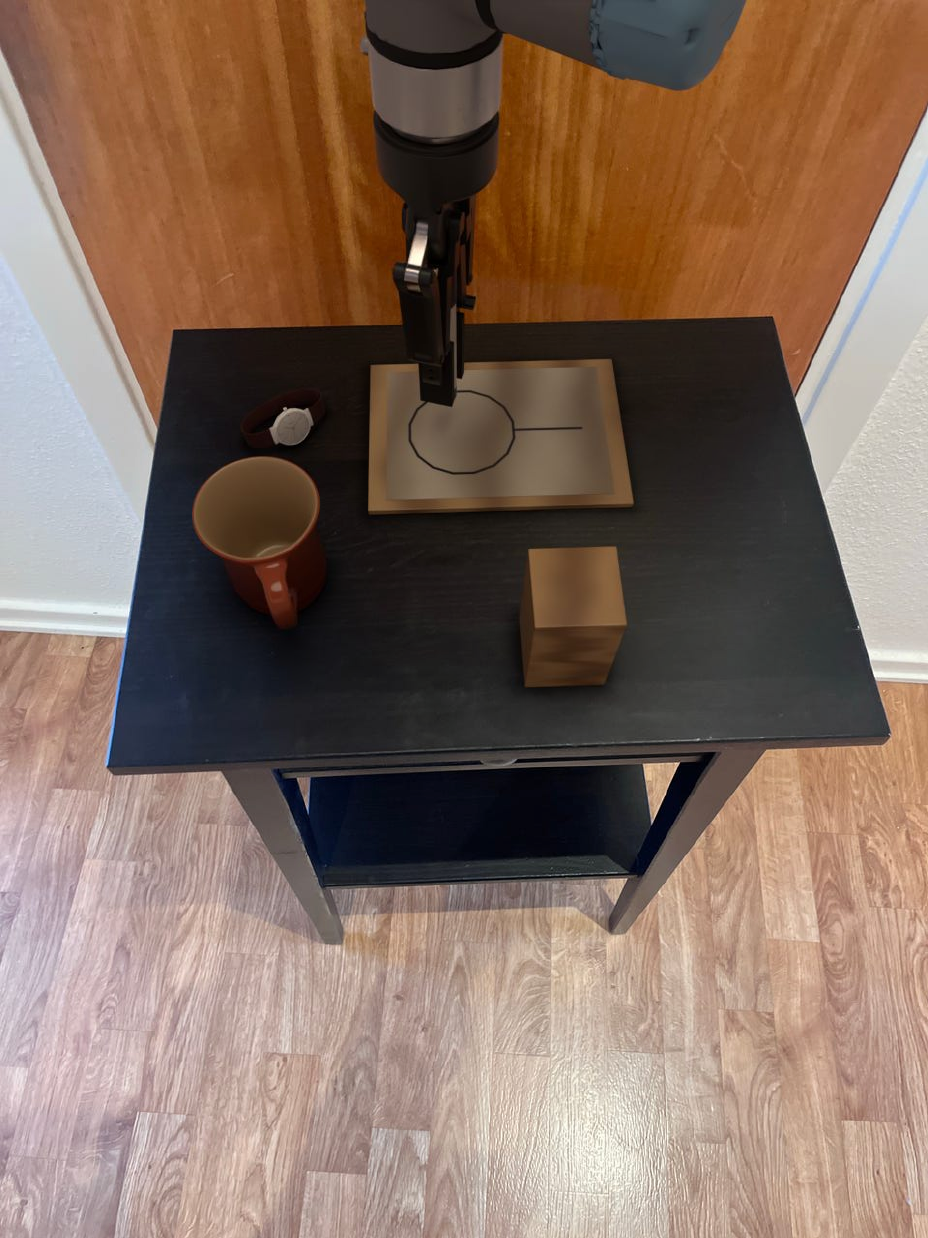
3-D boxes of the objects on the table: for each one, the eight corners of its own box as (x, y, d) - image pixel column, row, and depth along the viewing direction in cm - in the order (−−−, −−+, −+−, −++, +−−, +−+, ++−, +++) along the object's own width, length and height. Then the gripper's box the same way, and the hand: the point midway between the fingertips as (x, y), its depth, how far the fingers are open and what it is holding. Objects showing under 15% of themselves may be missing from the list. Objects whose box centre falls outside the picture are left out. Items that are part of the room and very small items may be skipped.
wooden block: (595, 614, 67) (616, 545, 58) (604, 685, 64) (627, 624, 55) (519, 616, 67) (528, 548, 58) (524, 687, 64) (534, 627, 55)
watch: (260, 465, 74) (251, 438, 70) (234, 430, 75) (224, 402, 72) (337, 425, 76) (332, 396, 72) (310, 391, 77) (303, 362, 74)
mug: (219, 548, 70) (183, 471, 61) (325, 523, 71) (305, 443, 62) (244, 679, 64) (209, 616, 55) (358, 649, 66) (342, 583, 56)
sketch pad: (610, 363, 79) (611, 357, 78) (632, 507, 72) (634, 502, 71) (371, 369, 79) (370, 363, 78) (368, 514, 71) (367, 510, 71)
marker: (460, 386, 73) (460, 258, 61) (453, 408, 72) (451, 282, 60) (432, 380, 73) (426, 251, 61) (424, 402, 72) (416, 275, 60)
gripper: (411, 24, 54) (424, 312, 75) (332, 179, 47) (371, 448, 68) (527, 42, 54) (507, 329, 74) (464, 203, 47) (462, 468, 68)
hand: (442, 386), depth 71 cm, fingers closed on marker, 2 cm apart
